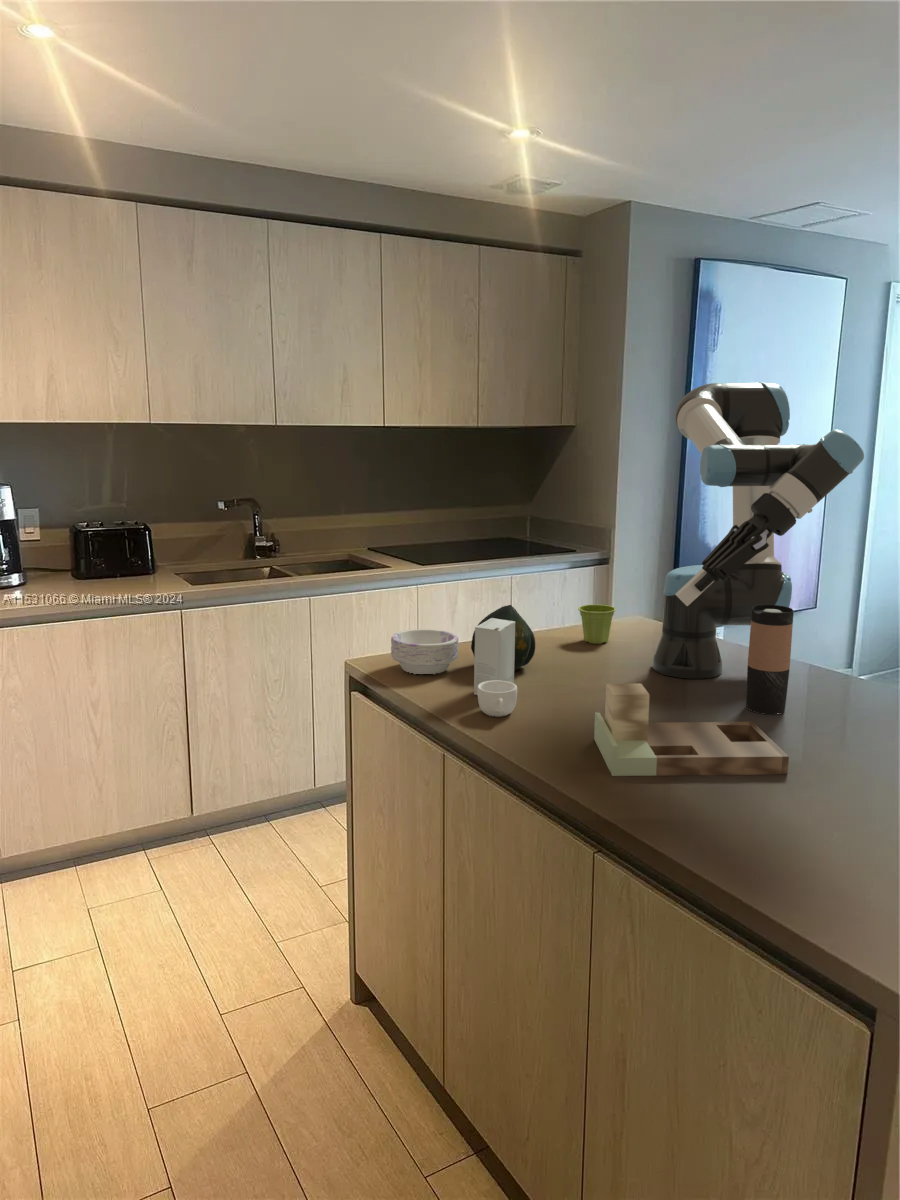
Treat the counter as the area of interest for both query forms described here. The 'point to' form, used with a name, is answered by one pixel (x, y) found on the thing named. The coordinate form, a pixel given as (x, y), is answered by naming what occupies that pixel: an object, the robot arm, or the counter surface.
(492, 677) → the skincare box
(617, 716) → the maple block
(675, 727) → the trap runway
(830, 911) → the counter surface
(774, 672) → the travel mug
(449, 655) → the paper bowls
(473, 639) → the squash
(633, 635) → the counter surface
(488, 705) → the teacup
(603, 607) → the plant pot
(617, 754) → the pad
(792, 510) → the robot arm
